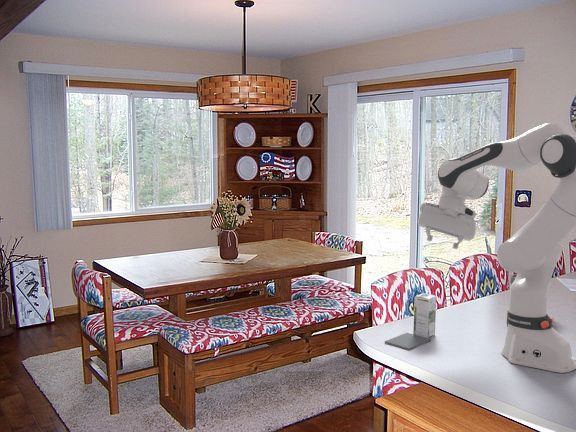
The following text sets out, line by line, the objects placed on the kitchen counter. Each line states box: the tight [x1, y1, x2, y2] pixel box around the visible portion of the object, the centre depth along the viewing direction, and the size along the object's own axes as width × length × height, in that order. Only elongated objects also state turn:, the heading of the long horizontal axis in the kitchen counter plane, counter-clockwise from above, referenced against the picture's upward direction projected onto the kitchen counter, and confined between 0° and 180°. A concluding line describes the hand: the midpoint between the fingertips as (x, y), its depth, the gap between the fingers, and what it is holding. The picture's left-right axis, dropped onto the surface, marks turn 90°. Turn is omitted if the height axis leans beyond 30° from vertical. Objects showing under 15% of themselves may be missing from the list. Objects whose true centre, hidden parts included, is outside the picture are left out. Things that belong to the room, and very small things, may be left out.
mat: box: [384, 332, 432, 351], centre depth 198 cm, size 10×13×1 cm
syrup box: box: [412, 292, 437, 339], centre depth 204 cm, size 6×6×14 cm
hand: (442, 244), depth 203 cm, fingers open, 8 cm apart
